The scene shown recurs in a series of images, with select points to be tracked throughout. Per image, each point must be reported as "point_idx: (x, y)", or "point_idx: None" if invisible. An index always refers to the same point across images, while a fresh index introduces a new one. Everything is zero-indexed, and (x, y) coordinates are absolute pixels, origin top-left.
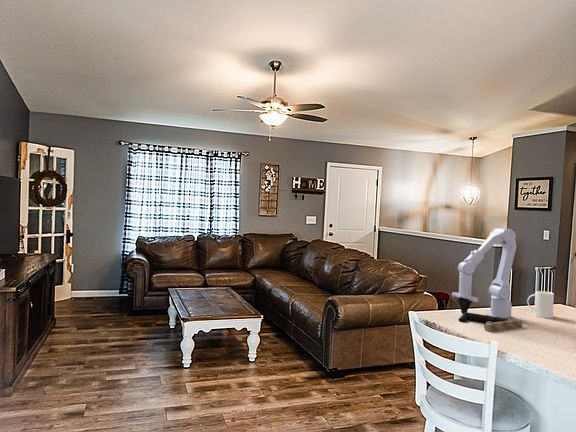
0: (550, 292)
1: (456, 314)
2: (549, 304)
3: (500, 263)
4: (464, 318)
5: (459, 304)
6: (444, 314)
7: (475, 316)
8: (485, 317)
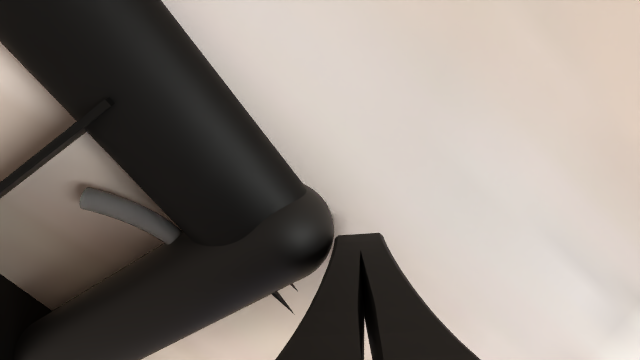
0: None
1: (497, 214)
2: None
3: None
4: None
5: (448, 337)
6: (613, 10)
7: (131, 276)
8: (37, 338)
